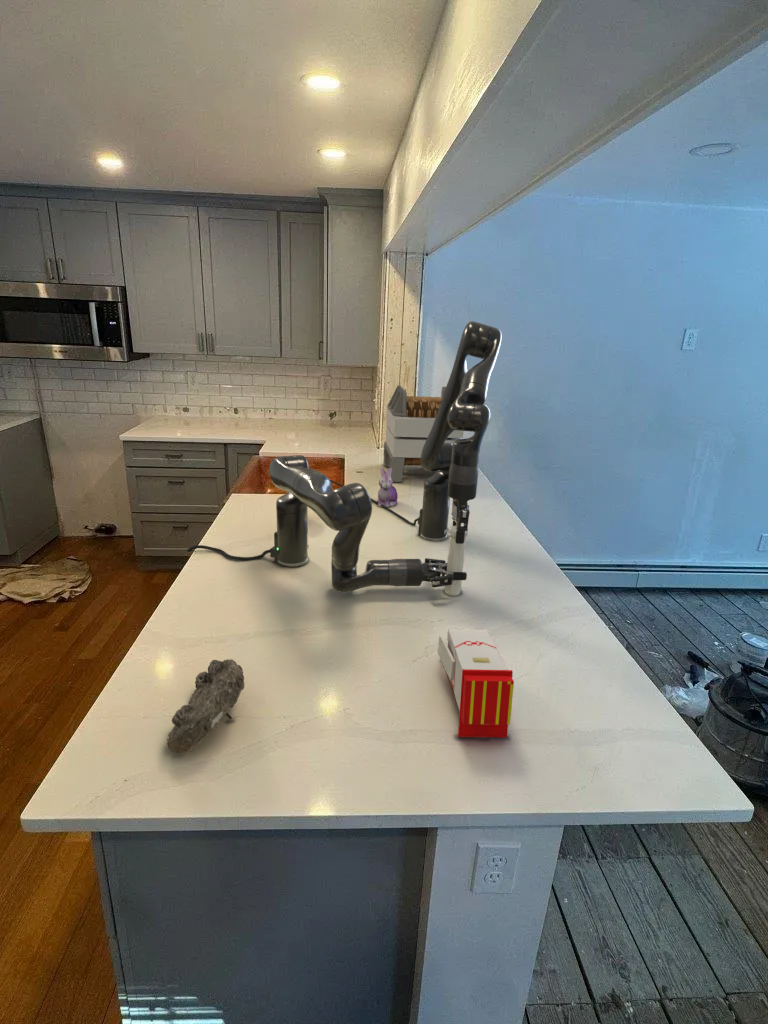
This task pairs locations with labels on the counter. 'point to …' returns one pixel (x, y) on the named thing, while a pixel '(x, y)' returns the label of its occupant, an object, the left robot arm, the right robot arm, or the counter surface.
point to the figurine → (386, 489)
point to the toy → (478, 682)
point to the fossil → (206, 705)
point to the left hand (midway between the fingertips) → (463, 572)
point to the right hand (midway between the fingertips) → (457, 538)
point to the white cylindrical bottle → (455, 564)
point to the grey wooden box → (410, 430)
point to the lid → (453, 531)
